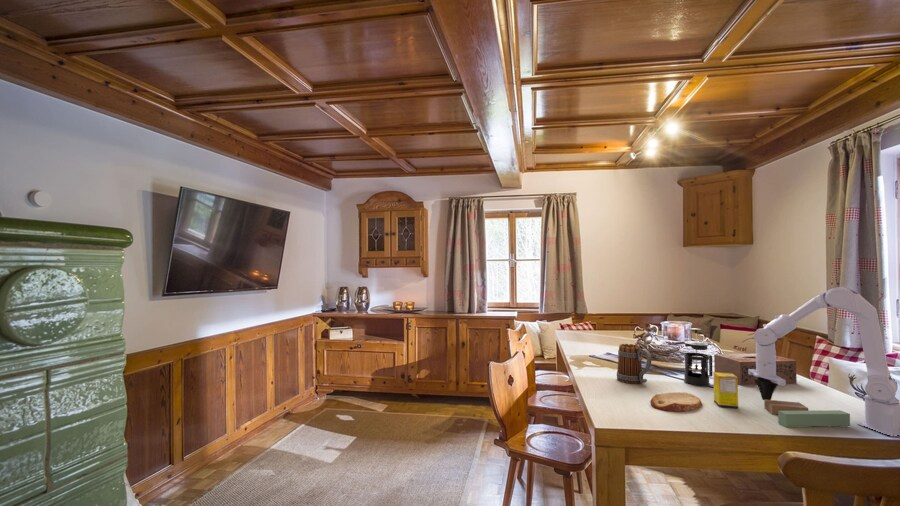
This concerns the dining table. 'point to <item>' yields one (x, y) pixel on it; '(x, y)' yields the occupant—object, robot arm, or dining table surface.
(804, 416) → the rail
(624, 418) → the dining table surface
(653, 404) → the bread slice
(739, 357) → the tissue box cover
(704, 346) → the french press
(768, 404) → the slab
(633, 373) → the mug
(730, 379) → the supplement box
